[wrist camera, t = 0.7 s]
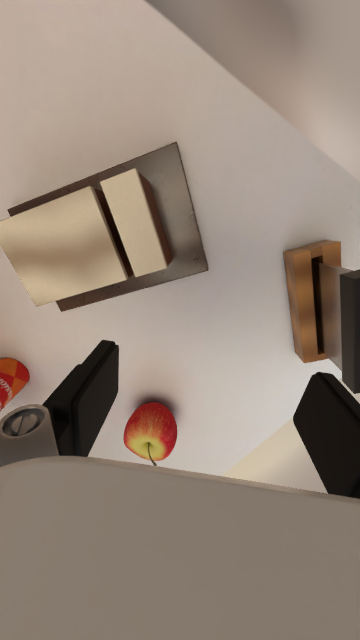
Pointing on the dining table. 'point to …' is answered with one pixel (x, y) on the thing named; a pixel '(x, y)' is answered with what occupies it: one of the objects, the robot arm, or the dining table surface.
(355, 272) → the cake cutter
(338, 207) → the dining table surface
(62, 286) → the cake
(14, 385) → the coffee cup
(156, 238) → the cake slice
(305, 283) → the knife block
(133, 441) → the apple
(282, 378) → the dining table surface
